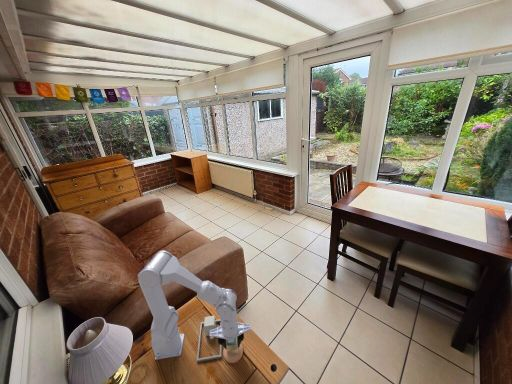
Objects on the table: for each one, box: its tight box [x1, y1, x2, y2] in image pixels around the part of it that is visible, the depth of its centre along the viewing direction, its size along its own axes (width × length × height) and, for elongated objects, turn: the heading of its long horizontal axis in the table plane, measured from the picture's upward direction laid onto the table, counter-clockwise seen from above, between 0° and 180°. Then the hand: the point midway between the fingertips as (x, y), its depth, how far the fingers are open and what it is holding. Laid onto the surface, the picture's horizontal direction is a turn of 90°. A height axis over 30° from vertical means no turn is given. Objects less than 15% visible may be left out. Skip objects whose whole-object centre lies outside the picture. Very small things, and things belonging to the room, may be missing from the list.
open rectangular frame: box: [196, 318, 223, 363], centre depth 82 cm, size 9×14×1 cm, turn 8°
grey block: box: [203, 315, 217, 337], centre depth 85 cm, size 4×4×6 cm
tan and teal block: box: [226, 337, 239, 356], centre depth 76 cm, size 4×4×6 cm
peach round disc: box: [222, 343, 244, 364], centre depth 78 cm, size 8×8×1 cm
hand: (232, 345), depth 77 cm, fingers closed on tan and teal block, 4 cm apart
